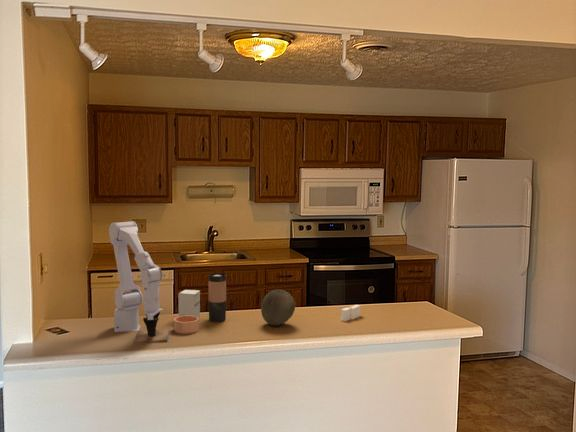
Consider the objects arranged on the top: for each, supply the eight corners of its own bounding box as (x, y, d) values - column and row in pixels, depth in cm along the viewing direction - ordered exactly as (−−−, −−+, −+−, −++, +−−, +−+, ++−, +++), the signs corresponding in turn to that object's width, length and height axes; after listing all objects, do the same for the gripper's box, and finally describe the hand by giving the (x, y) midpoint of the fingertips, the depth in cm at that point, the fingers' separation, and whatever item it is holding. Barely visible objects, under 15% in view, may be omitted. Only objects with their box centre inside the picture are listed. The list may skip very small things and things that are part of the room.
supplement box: (194, 323, 229) (194, 294, 228) (178, 322, 231) (177, 293, 230) (200, 318, 237) (200, 290, 235) (184, 317, 238) (184, 289, 237)
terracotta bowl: (173, 335, 213) (173, 323, 213) (174, 327, 223) (174, 315, 223) (199, 334, 215) (199, 322, 214) (199, 326, 225) (198, 314, 224)
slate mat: (133, 345, 201) (132, 343, 201) (136, 334, 214) (136, 332, 214) (168, 343, 204) (168, 342, 204) (170, 332, 216) (170, 331, 216)
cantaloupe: (266, 331, 219) (266, 295, 218) (257, 321, 233) (257, 287, 231) (299, 328, 224) (299, 293, 222) (288, 319, 237) (288, 285, 236)
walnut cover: (134, 343, 202) (134, 333, 202) (137, 333, 214) (137, 323, 213) (167, 341, 204) (167, 332, 204) (168, 331, 216) (168, 322, 215)
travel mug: (229, 319, 236) (229, 274, 234) (218, 323, 230) (218, 277, 228) (216, 316, 240) (216, 272, 238) (204, 320, 234) (204, 275, 232)
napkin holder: (359, 314, 247) (360, 302, 247) (369, 321, 236) (370, 309, 236) (328, 316, 243) (329, 304, 243) (337, 324, 233) (338, 311, 232)
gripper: (161, 303, 201) (161, 338, 202) (163, 293, 215) (163, 326, 216) (141, 303, 200) (142, 339, 201) (145, 294, 214) (145, 327, 215)
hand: (152, 332), depth 209 cm, fingers open, 6 cm apart
